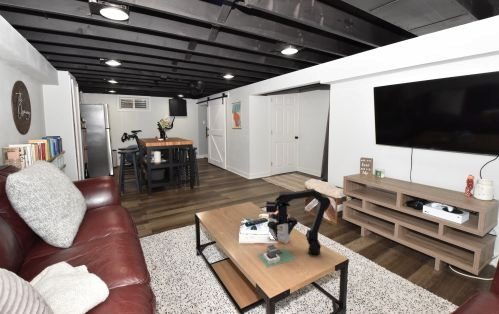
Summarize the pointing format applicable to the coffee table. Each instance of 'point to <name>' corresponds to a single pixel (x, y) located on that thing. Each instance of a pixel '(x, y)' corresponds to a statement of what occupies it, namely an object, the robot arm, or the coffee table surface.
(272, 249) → the black plug
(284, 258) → the circuit board
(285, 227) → the cracker box
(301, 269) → the coffee table surface
